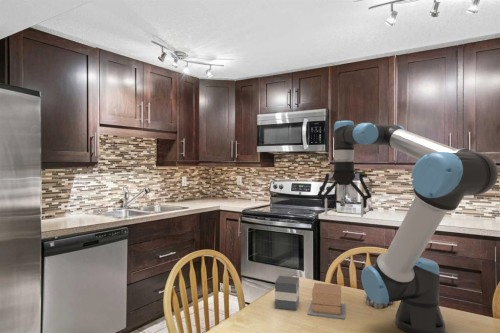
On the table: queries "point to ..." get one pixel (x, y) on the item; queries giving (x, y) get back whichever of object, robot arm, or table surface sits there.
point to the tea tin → (287, 293)
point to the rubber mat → (342, 314)
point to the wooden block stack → (326, 299)
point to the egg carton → (376, 305)
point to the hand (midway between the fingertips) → (343, 215)
